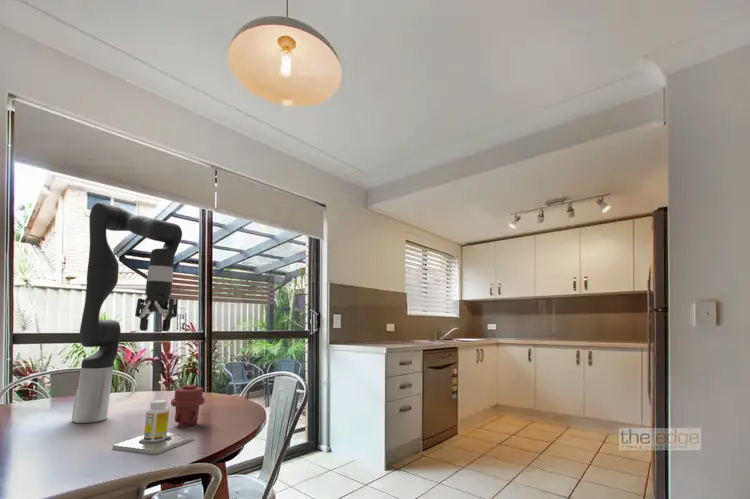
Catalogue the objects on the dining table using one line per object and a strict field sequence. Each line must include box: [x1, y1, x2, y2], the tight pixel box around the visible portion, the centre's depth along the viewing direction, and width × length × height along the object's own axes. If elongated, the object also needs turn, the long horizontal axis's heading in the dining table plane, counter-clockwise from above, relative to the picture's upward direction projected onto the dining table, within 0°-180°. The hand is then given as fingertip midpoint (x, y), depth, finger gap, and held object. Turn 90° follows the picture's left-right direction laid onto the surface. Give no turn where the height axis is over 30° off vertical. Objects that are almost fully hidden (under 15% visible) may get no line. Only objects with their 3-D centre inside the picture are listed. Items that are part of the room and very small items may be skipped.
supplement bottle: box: [143, 399, 170, 442], centre depth 111 cm, size 6×6×10 cm
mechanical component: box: [170, 384, 206, 429], centre depth 131 cm, size 12×10×10 cm
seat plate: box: [112, 432, 195, 456], centre depth 110 cm, size 14×14×1 cm
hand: (154, 330), depth 129 cm, fingers open, 8 cm apart
